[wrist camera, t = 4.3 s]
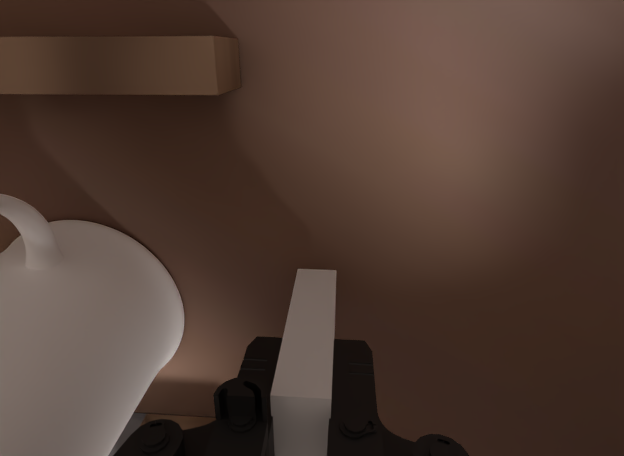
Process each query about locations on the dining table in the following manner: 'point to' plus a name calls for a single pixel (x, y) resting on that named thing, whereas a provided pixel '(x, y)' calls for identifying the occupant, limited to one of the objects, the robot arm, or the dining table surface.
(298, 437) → the robot arm
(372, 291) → the dining table surface
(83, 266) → the mug
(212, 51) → the wooden compartment tray
